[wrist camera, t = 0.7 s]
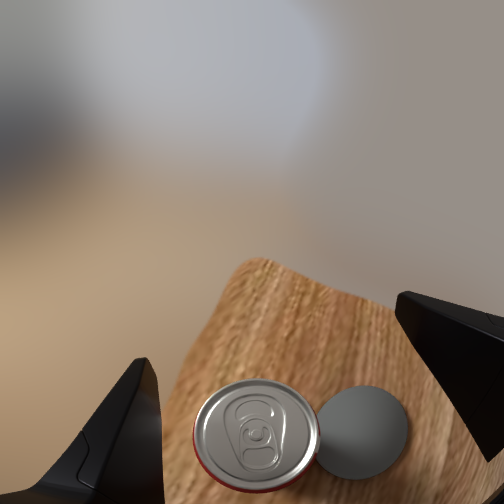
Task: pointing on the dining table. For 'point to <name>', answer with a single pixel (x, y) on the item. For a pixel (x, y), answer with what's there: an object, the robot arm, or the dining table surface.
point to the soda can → (256, 436)
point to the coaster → (361, 432)
